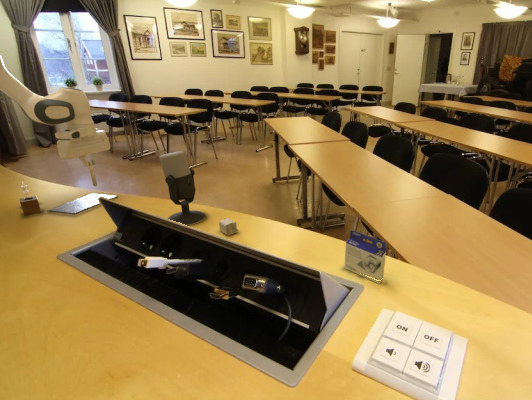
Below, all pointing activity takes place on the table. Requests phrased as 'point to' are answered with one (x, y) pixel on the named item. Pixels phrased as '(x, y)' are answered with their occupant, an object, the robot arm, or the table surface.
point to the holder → (30, 205)
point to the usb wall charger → (228, 226)
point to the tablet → (81, 204)
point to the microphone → (181, 186)
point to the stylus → (92, 172)
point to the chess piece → (25, 189)
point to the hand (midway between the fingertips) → (90, 165)
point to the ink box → (365, 256)
